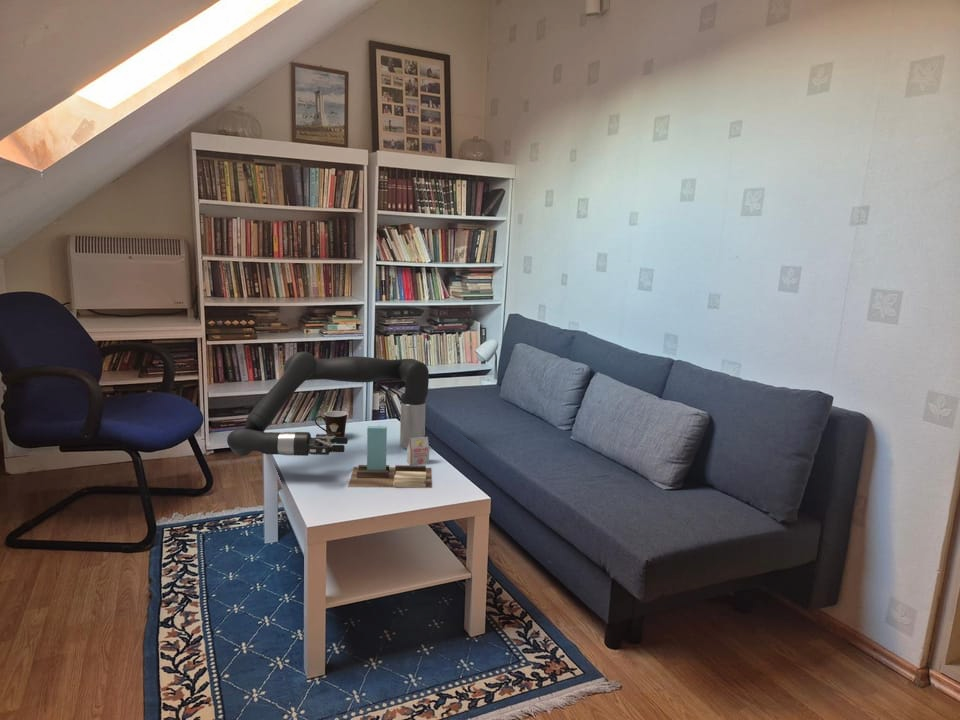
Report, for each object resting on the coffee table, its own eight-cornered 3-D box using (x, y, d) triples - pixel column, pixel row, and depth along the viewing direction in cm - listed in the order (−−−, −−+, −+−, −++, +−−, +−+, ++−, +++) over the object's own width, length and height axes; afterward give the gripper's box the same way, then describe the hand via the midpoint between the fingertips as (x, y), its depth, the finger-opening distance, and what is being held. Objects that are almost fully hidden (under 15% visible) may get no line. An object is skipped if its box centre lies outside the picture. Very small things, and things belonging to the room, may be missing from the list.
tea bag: (406, 464, 220) (407, 437, 218) (425, 462, 223) (425, 435, 221) (410, 468, 216) (410, 440, 215) (428, 466, 219) (429, 438, 218)
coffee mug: (351, 437, 247) (351, 412, 246) (338, 443, 240) (338, 417, 238) (327, 432, 252) (327, 408, 250) (313, 438, 244) (313, 413, 242)
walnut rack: (354, 469, 213) (354, 461, 212) (431, 470, 215) (431, 462, 214) (347, 490, 195) (347, 480, 194) (431, 490, 197) (432, 481, 197)
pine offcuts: (394, 480, 202) (394, 471, 202) (426, 480, 203) (426, 471, 202) (393, 487, 196) (393, 478, 195) (426, 487, 197) (426, 478, 196)
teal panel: (367, 473, 207) (368, 426, 204) (386, 473, 208) (386, 426, 205) (366, 475, 205) (367, 428, 202) (385, 475, 205) (386, 428, 203)
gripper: (290, 438, 194) (343, 439, 195) (298, 426, 208) (348, 427, 209) (290, 462, 195) (343, 463, 197) (298, 448, 209) (348, 448, 211)
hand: (346, 444), depth 203 cm, fingers open, 8 cm apart
